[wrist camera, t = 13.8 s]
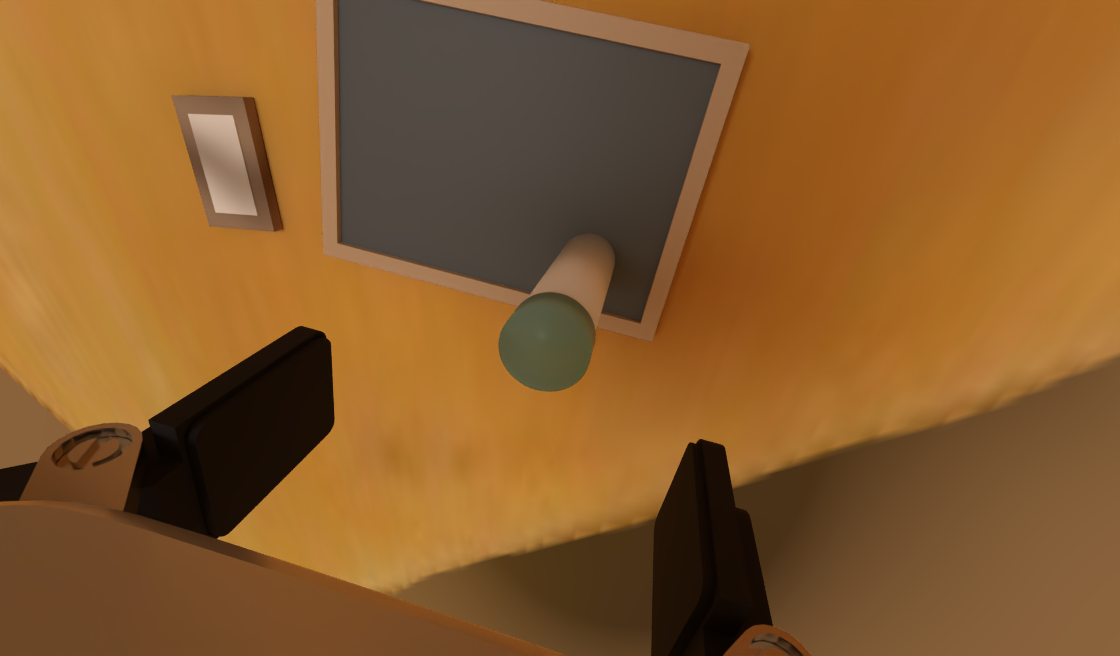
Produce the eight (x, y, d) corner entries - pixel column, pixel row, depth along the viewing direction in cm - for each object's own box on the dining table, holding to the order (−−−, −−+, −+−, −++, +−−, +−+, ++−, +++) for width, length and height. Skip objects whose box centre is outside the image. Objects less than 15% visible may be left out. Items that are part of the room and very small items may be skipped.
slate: (329, -40, 24) (313, -47, 23) (746, 47, 23) (750, 44, 21) (334, 249, 32) (323, 254, 30) (652, 334, 30) (651, 342, 29)
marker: (566, 225, 27) (505, 297, 16) (623, 239, 27) (600, 322, 16) (555, 279, 28) (492, 377, 18) (609, 293, 28) (578, 401, 17)
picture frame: (183, 95, 29) (169, 95, 28) (253, 97, 28) (241, 97, 27) (219, 223, 32) (208, 226, 32) (282, 228, 32) (273, 231, 31)
